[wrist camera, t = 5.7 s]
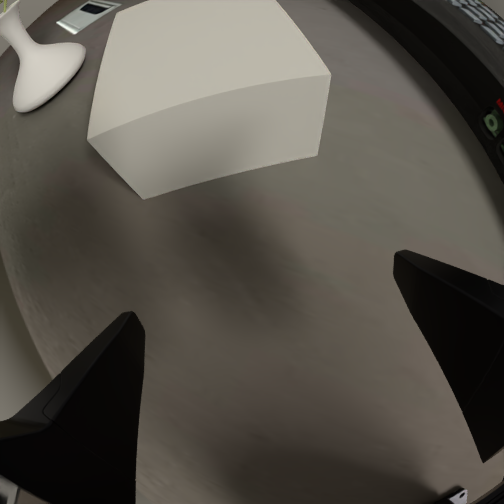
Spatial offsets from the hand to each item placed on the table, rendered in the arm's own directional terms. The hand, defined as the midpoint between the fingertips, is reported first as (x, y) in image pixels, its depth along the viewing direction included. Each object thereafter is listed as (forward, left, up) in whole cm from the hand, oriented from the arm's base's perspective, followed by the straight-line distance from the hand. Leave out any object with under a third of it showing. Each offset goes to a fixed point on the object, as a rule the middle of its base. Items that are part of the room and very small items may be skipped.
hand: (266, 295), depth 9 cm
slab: (+17, +1, -7) cm, 18 cm away
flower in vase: (+31, +18, -7) cm, 37 cm away
